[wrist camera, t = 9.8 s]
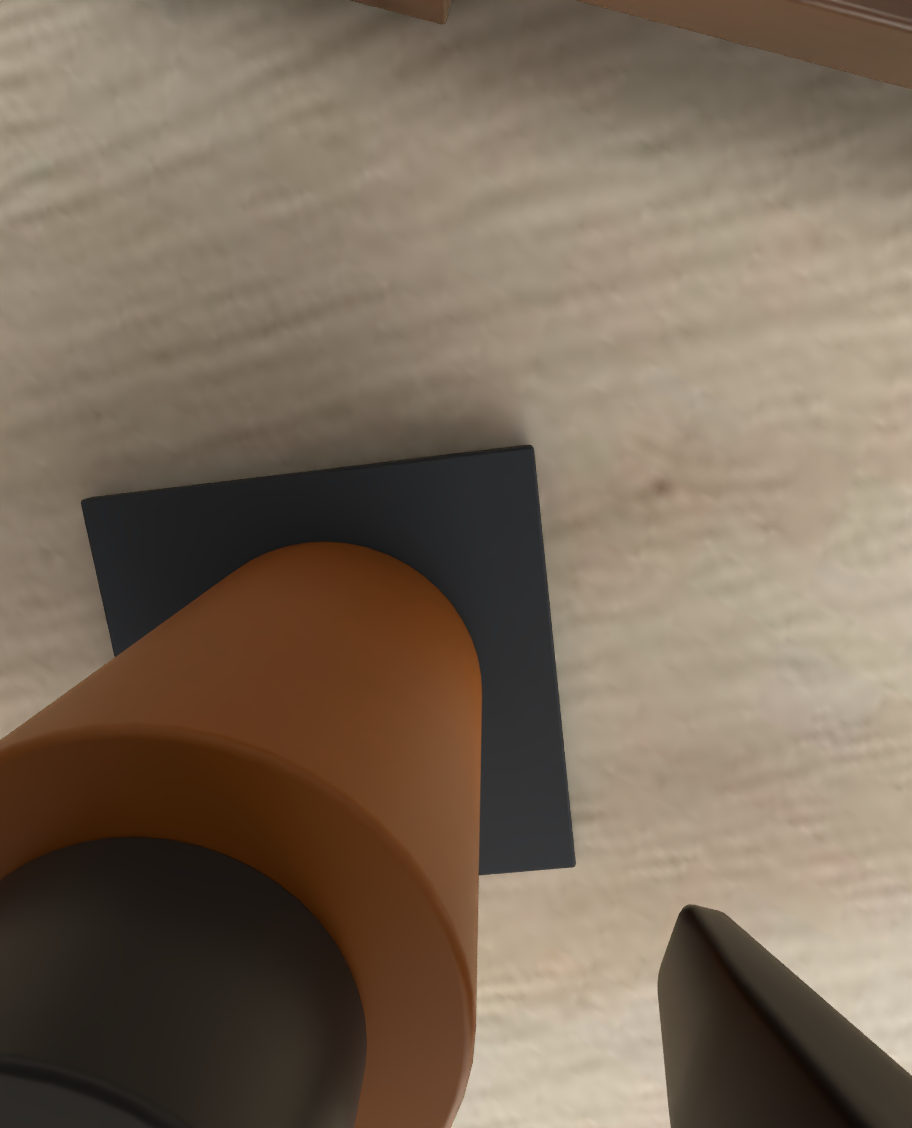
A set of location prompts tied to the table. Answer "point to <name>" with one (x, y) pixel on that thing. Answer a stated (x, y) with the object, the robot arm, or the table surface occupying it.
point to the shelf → (770, 28)
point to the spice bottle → (250, 863)
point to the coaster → (414, 536)
